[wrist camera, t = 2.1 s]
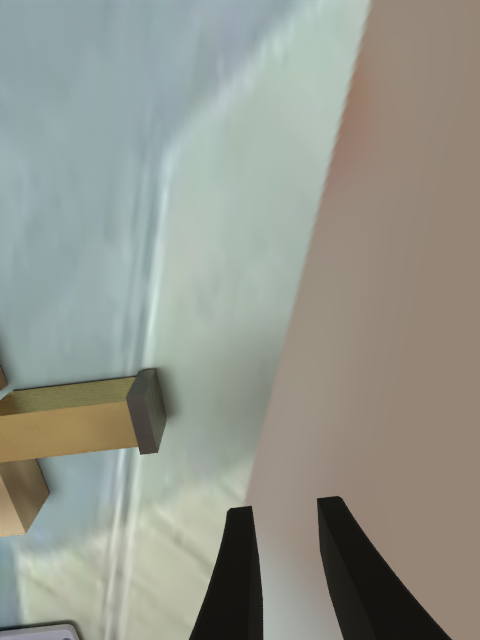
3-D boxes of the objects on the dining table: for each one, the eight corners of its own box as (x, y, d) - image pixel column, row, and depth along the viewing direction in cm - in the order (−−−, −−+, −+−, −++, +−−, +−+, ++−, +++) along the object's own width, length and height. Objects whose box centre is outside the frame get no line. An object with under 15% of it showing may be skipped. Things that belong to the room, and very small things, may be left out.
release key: (166, 420, 19) (157, 452, 16) (26, 437, 19) (-2, 471, 16) (155, 369, 18) (144, 395, 15) (7, 386, 18) (-26, 415, 15)
